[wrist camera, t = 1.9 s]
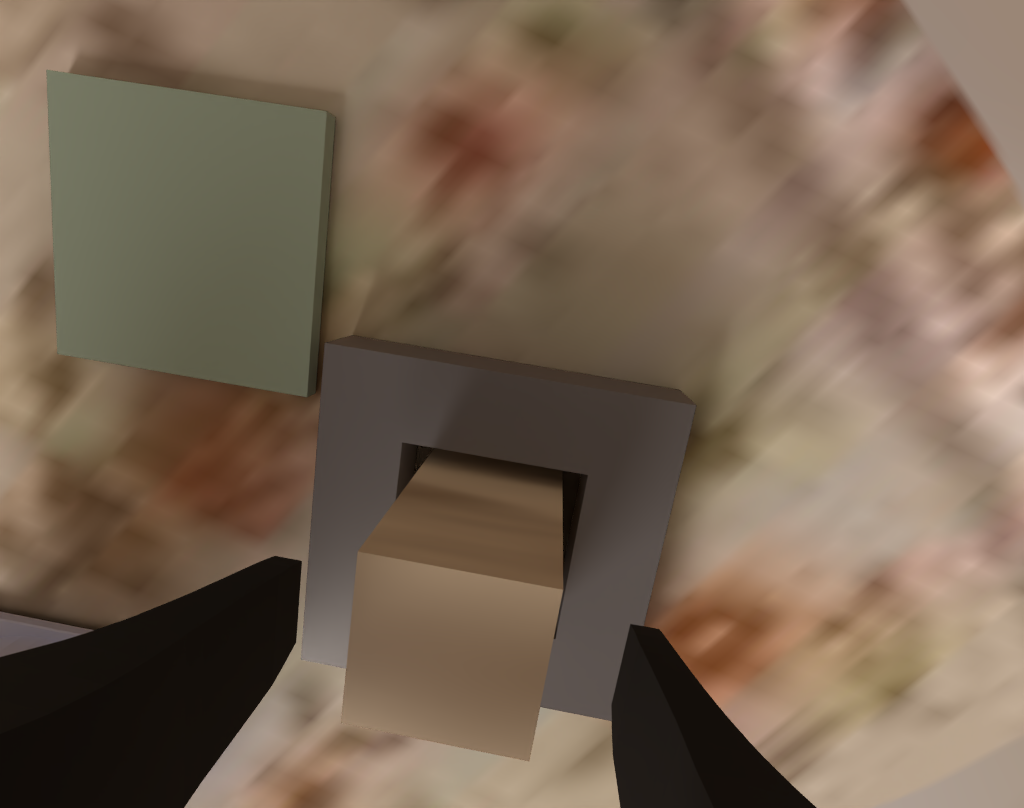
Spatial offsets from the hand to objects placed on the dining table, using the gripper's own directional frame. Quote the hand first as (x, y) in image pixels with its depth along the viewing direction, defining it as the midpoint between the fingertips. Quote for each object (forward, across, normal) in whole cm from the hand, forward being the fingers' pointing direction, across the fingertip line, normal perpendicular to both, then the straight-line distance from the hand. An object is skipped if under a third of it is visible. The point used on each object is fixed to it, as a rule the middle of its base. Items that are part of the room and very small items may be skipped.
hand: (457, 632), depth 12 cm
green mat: (+6, +10, -7) cm, 14 cm away
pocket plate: (+6, 0, 0) cm, 6 cm away
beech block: (+6, 0, 0) cm, 6 cm away
